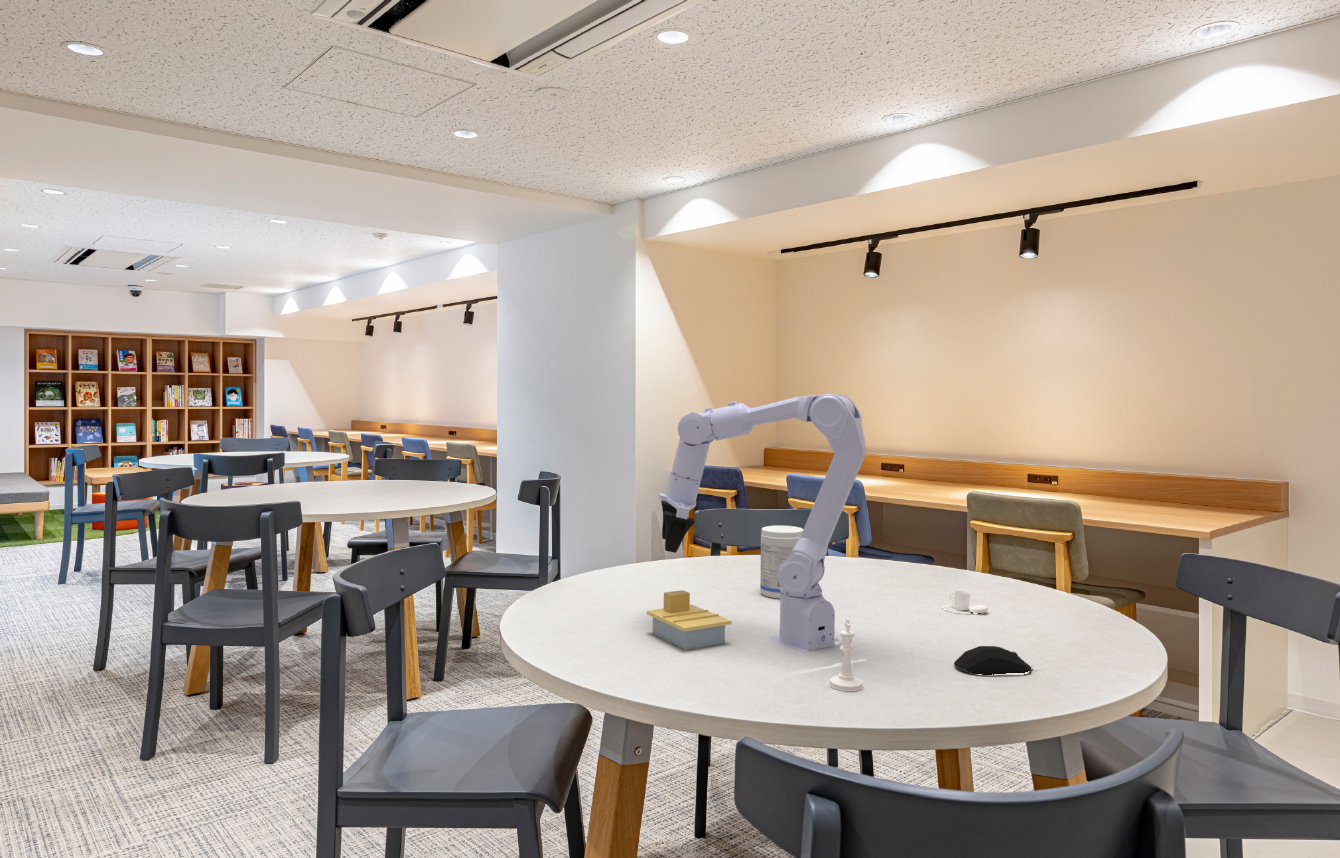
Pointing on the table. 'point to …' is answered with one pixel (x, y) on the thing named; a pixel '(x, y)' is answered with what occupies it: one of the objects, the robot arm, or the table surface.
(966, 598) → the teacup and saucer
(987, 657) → the gaming mouse
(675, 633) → the parts tub
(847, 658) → the chess piece
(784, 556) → the supplement tub
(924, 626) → the table surface
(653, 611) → the lid
